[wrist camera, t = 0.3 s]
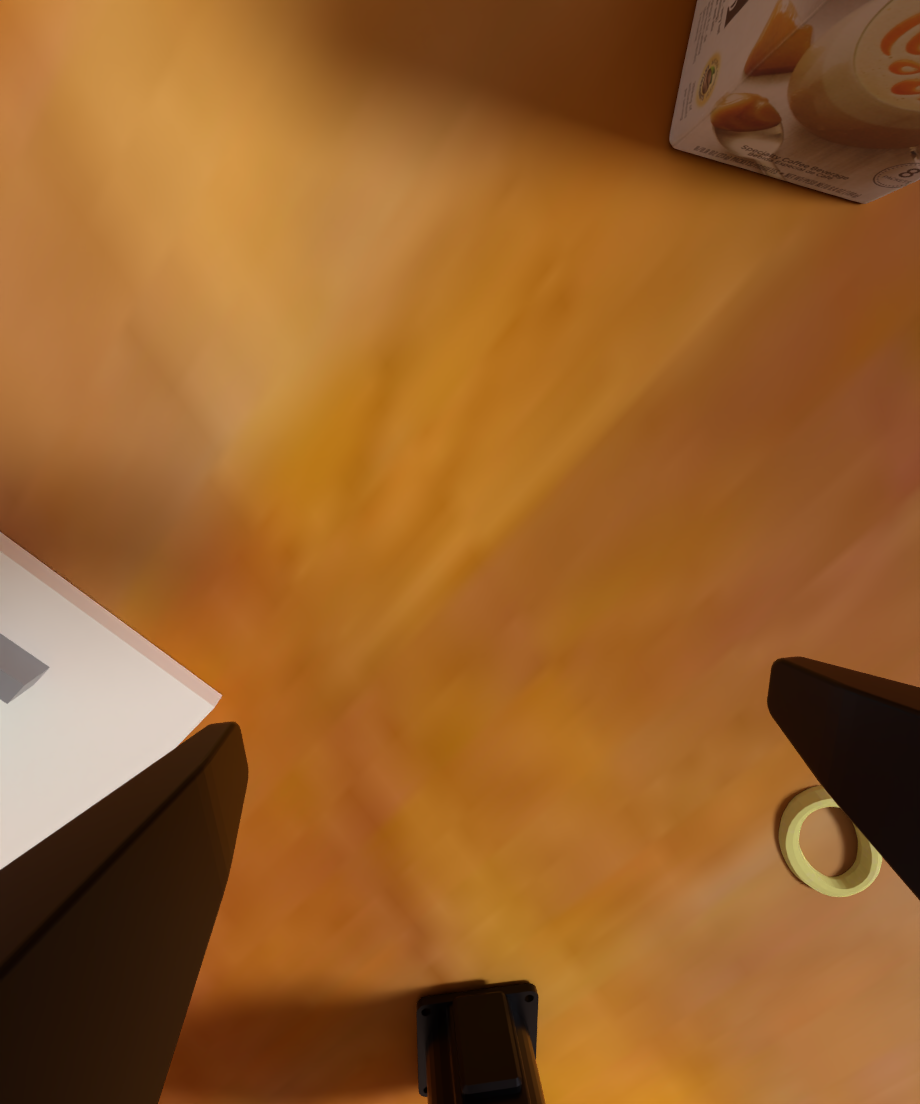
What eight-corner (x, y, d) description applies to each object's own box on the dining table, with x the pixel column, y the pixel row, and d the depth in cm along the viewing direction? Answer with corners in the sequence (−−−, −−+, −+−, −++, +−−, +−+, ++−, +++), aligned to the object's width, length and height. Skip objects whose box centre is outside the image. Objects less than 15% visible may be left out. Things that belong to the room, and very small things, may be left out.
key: (981, 743, 30) (1025, 766, 28) (821, 894, 31) (852, 928, 29) (911, 669, 28) (952, 688, 26) (744, 833, 29) (770, 864, 27)
